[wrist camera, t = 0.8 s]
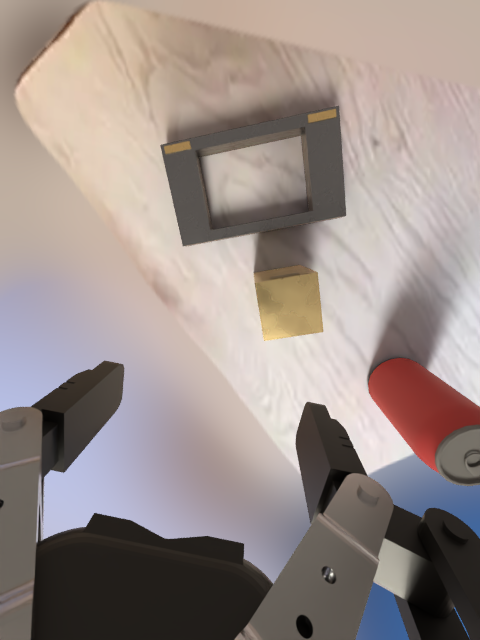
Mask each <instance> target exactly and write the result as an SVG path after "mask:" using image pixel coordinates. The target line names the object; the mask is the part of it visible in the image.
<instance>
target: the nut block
mask: <svg viewBox="0 0 480 640" xmlns="http://www.w3.org/2000/svg"><path fill="white" fill-rule="evenodd" d="M254 281H255V288H256V294H257V300H258V306H259V312H260V319H261V325H262V331H263V337H264V341H266V340H273V339H279V338H286V337H293V336H299V335H306V334H312V333H319V332H323V323H322V313H321V303H320V292H319V282H318V272H316V271H313V270H311V269H308V268H306V267H304V266H301V265H296V266H290V267H284V268H279V269H273V270H267V271H261V272H256V273H254Z"/></svg>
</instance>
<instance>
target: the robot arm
mask: <svg viewBox="0 0 480 640" xmlns="http://www.w3.org/2000/svg"><path fill="white" fill-rule="evenodd" d="M123 378H124V366H123V364H119V363H114V362H109V361H103V362H102V363H101V364H99V365H98V366H97V367H96V368H94V369H93V370H86V371H83V372H81V373H78V374H76V375H74V376H73V377H71V378H70V379H69V380H67V382H65V383H63V384H62V385H60V386H59V388H56V389H55V390H53V391H52V392H51V393H49V394H48V395H47V396H45V397H44V398H42V399H41V400H40V401H38V402H37V403H35V404H34V405H32V406H31V407H17V408H12V409H8V410H5V411H2V412H0V640H355V639H356V635H357V632H358V629H359V626H360V623H361V619H362V616H363V613H364V610H365V606H366V603H367V600H368V597H369V593H370V590H371V587H372V584H373V582H375V583H376V584H378V585H380V586H382V587H384V588H385V589H387V590H389V591H391V592H392V593H394V596H395V599H396V602H397V605H398V608H399V611H400V613H401V617H402V619H403V622H404V625H405V628H406V631H407V634H408V637H409V639H410V640H480V539H479V538H478V536H477V535H476V534H475V532H473V530H472V529H471V528H470V527H469V526H468V525H466V524H465V523H464V522H463V521H461V520H460V519H459V518H457V517H456V516H454V515H452V514H450V513H448V512H446V511H444V510H441V509H437V508H429V509H427V510H426V511H425V513H424V515H423V517H422V518H421V517H419V516H417V515H415V514H413V513H411V512H408V511H406V510H404V509H402V508H400V507H398V506H396V505H394V504H393V501H392V499H391V497H390V495H389V493H388V492H387V491H386V490H385V489H384V488H383V487H382V486H381V485H380V484H379V483H378V482H376V481H375V480H373V479H371V478H370V477H368V476H367V474H366V472H365V470H364V468H363V465H362V463H361V461H360V459H359V457H358V455H357V453H356V451H355V449H353V444H352V442H351V441H350V438H349V436H348V434H347V432H346V430H345V428H344V427H343V426H342V425H341V424H340V423H339V422H338V421H337V420H335V419H331V418H330V415H329V413H328V410H327V408H326V406H325V405H321V404H316V403H311V402H307V403H306V404H305V407H304V410H303V413H302V417H301V420H300V423H299V427H298V430H297V434H296V450H297V455H298V460H299V466H300V471H301V476H302V481H303V486H304V491H305V497H306V502H307V507H308V512H309V518H310V523H311V524H312V525H311V527H310V528H309V530H308V531H307V533H306V534H305V536H304V537H303V539H302V541H301V542H300V544H299V545H298V547H297V548H296V550H295V551H294V554H293V555H292V556H291V558H290V559H289V561H288V563H287V564H286V566H285V567H284V569H283V570H282V572H281V573H280V575H279V576H278V578H277V580H276V581H275V583H274V584H273V583H272V582H271V581H270V580H269V578H268V577H267V576H266V575H265V574H264V573H262V571H261V570H259V569H258V568H257V567H255V566H254V565H253V564H252V563H250V562H249V561H247V560H245V559H243V557H244V544H243V543H238V542H234V541H229V540H224V539H219V538H214V537H209V536H203V537H190V538H178V539H164V538H162V537H160V536H159V535H157V534H155V533H153V532H151V531H149V530H148V529H145V528H144V527H142V526H140V525H138V524H137V523H135V522H133V521H131V520H126V519H121V518H116V517H111V516H107V515H102V514H97V513H94V515H93V516H92V518H91V520H90V521H89V523H88V525H87V526H86V527H81V528H76V529H71V530H67V531H64V532H61V533H58V534H55V535H53V536H50V537H48V538H46V539H44V540H43V512H44V477H45V475H46V474H47V473H48V472H49V471H50V470H54V471H59V472H65V471H66V470H67V469H68V467H69V466H70V465H71V464H72V463H73V462H74V460H75V459H76V458H77V457H78V455H79V454H80V453H81V452H82V451H83V450H84V449H85V447H86V446H87V445H88V444H89V443H90V441H91V440H92V439H93V437H95V435H96V434H97V433H98V432H99V431H100V430H101V428H102V427H103V426H104V425H105V424H106V422H107V421H108V420H109V419H110V418H111V416H112V415H113V414H114V413H115V412H116V410H117V409H118V407H119V405H120V403H121V400H122V393H123ZM454 607H455V608H456V610H457V612H458V614H459V616H460V618H461V620H462V622H463V624H464V626H465V628H466V630H467V632H468V635H469V637H470V639H469V637H468V635H467V633H466V631H465V630H464V627H463V625H462V623H461V621H460V619H459V617H458V615H457V613H456V611H455V609H454Z"/></svg>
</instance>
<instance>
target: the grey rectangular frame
mask: <svg viewBox="0 0 480 640" xmlns="http://www.w3.org/2000/svg"><path fill="white" fill-rule="evenodd" d="M297 136H301V140H302V150H303V160H304V170H305V180H306V190H307V200H308V210H309V212H304V213H299V214H294V215H288V216H283V217H278V218H272V219H267V220H262V221H257V222H251V223H246V224H241V225H235V226H230V227H225V228H220V229H214V230H213V228H212V223H211V218H210V212H209V207H208V202H207V197H206V192H205V186H204V181H203V176H202V171H201V166H200V160H199V157H203V156H208V155H212V154H217V153H222V152H226V151H231V150H236V149H240V148H245V147H250V146H254V145H259V144H264V143H269V142H273V141H278V140H283V139H287V138H292V137H297ZM161 150H162V154H163V159H164V163H165V168H166V172H167V177H168V181H169V186H170V190H171V195H172V199H173V203H174V208H175V212H176V217H177V221H178V226H179V230H180V235H181V239H182V244H183V246H191V245H196V244H201V243H207V242H212V241H218V240H223V239H228V238H234V237H239V236H245V235H250V234H255V233H261V232H266V231H272V230H277V229H282V228H288V227H293V226H299V225H304V224H309V223H315V222H320V221H325V220H331V219H336V218H341V217H344V216H346V206H345V191H344V175H343V160H342V145H341V130H340V115H339V106H336V107H331V108H327V109H322V110H318V111H313V112H309V113H304V114H300V115H295V116H290V117H286V118H281V119H277V120H272V121H268V122H263V123H259V124H254V125H250V126H245V127H240V128H236V129H231V130H227V131H222V132H218V133H213V134H209V135H204V136H200V137H195V138H190V139H186V140H181V141H177V142H172V143H168V144H163V145H161Z"/></svg>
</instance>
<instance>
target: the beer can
mask: <svg viewBox="0 0 480 640" xmlns="http://www.w3.org/2000/svg"><path fill="white" fill-rule="evenodd" d="M368 387H369V393H370V395H371V397H372V399H373V400H374V402H375V403H376V404H377V405H378V407H379V408H380V409H381V411H382V412H383V413H384V414H385V416H386V417H387V418H388V419H389V421H390V422H391V423H392V424H393V426H394V427H395V428H396V430H397V431H398V432H399V433H400V435H401V436H402V437H403V438H404V440H405V441H406V442H407V444H408V445H409V446H410V447H411V449H412V450H413V451H414V452H415V454H416V455H417V456H418V457H419V458H420V459H421V460H422V461H423V462H424V463H425V464H427V465H428V466H429V467H430V468H431V469H433V470H435V471H436V472H438V473H439V474H440V475H441V476H442V477H444V478H445V479H446V480H447V481H449V482H452V483H454V484H456V485H464V486H473V485H480V407H479V406H478V405H476V404H475V403H473V402H472V401H471V400H469V399H468V398H466V397H465V396H463V395H462V394H461V393H459V392H458V391H456V390H455V389H454V388H452V387H451V386H449V385H448V384H447V383H445V382H444V381H442V380H441V379H440V378H438V377H437V376H435V375H434V374H432V373H431V372H430V371H428V370H427V369H425V368H424V367H423V366H421V365H420V364H418V363H417V362H415V361H413V360H410V359H405V358H395V359H390V360H388V361H386V362H383V363H381V364H380V365H379V366H378V367H377V368H376V369H375V370H374V371H373V373H372V374H371V376H370V379H369V383H368Z"/></svg>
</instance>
